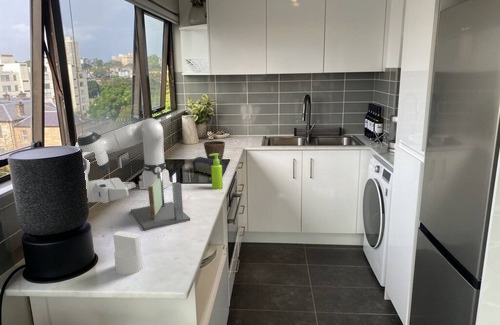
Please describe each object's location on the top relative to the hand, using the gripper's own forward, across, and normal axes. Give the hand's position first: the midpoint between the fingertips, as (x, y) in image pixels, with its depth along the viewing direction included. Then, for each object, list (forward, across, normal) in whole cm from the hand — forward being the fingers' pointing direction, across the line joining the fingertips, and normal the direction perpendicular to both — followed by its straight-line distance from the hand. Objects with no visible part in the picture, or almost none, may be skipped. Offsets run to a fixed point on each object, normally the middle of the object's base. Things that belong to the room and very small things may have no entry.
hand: (134, 184), depth 155 cm
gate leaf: (+9, -2, -15) cm, 18 cm away
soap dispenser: (+50, -26, -18) cm, 59 cm away
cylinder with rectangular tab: (-12, +38, -18) cm, 44 cm away
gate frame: (+10, -2, -17) cm, 20 cm away
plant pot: (+72, -77, -18) cm, 107 cm away
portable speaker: (+59, -58, -18) cm, 85 cm away
